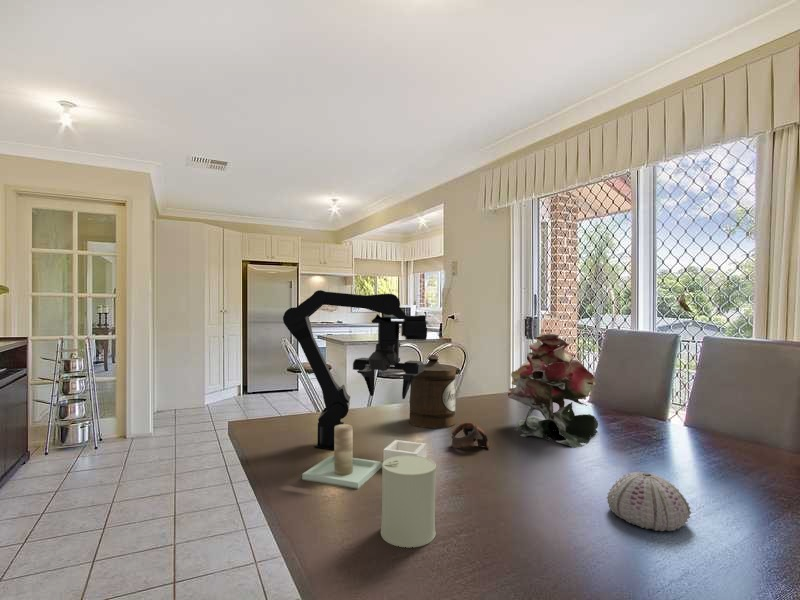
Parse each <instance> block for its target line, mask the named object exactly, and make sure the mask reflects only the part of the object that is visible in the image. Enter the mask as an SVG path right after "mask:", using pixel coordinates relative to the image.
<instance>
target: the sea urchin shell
mask: <svg viewBox="0 0 800 600" xmlns="http://www.w3.org/2000/svg"><path fill="white" fill-rule="evenodd" d="M606 498H607V500H606V501H607V504H608V507H609V508H610V510H611V512H612V513H614V514H615V516H617V517H619V518H620V519H621V520H625V521H626V523H629V524H632V525H634V526H635V525H636V526H637V527H640V528H642V529H646V530H648V529H652V530H653V531H655V532H657V531H659V532H663V531H668V532H671V531H676V529H678V530H679V529H680V528H681V527H685V523H688V522H689V520H688V519H690V518H691V516H690V515H691V514H692V511H691V506H689V504H690V503H689V502H687V499H686V498H685V497H684V495H683V493H682V492H681V491H680V490H679V489H678V488H677V487H676V486H675V485H674V484H673V483H671V482H670V481H669V480H667V479H665V478H664V477H661V476H659V475H656V474H654V473H651V472H642V471H640V472H638V471H635V472H634V471H633V472H630V473H626V474H623V476H621V477H619V479H618V480H616V481H615V483H614V484H612V487H611V488H610V489H609V492H608V493H607V496H606Z"/></svg>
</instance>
